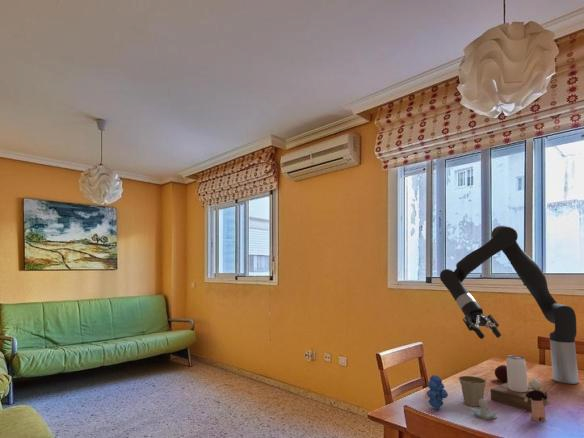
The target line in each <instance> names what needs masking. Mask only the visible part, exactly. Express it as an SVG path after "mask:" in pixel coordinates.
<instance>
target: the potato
mask: <svg viewBox="0 0 584 438" xmlns="http://www.w3.org/2000/svg"><path fill="white" fill-rule="evenodd" d="M494 375H495V377H496V379H497V380H499V381H500V382H502V383H507V382H508V379H507V365H505V364H501V365H498V366H497V367H496V368H495V369H494Z"/></svg>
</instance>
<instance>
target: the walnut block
mask: <svg viewBox="0 0 584 438" xmlns="http://www.w3.org/2000/svg"><path fill="white" fill-rule="evenodd" d="M529 391H534V390H533V389H532V388H531V387H530V386H528V391H527V392H525V393H520V392H514V391H511V390H509V388H508V382H504V383H503V384H500V385H497V386H495V387H492V388H490V400H491V401H492V402H497V403H499V402H500V404H504V405H507V406H511V407H514V408H518V409H521V410H525V411H529V412H532V406H531V398H530V399H528V401H527V402H524V399H525V395H526V394H527V393H528V392H529ZM538 391H542V392H543V393H544V394H545V395H546V396H547V397H548V391H547V390H546V391H545V390H541V389H539V390H538ZM542 401H543V405H544V406H545V405H548V404H547V403H546V401H545V400H544V399H543V398H542Z"/></svg>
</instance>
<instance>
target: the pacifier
mask: <svg viewBox="0 0 584 438" xmlns="http://www.w3.org/2000/svg"><path fill="white" fill-rule="evenodd" d="M478 407H479V408H477V407H472V408H471V411H472V413H473V414H474V415H476V416H478V418H480V419H483V420H492V419H493V420H494V419H497V416H496V414H497V413H496V412H490V411H488V408H489V403H488V401H487V400H486V399H484V398H483V399H480V400H479V406H478Z"/></svg>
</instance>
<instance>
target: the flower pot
mask: <svg viewBox="0 0 584 438" xmlns="http://www.w3.org/2000/svg"><path fill="white" fill-rule="evenodd" d="M458 380H459V383H460V385H461V390H462V397H463V402H464V403H465V404H466V405H467V406H471V407H480V406H479V400H480V399H484V395H485V387H486V384H487V382H488V381H487V380H486V379H484V378H482V377H478V376H473V375H462V376H459V377H458Z"/></svg>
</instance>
